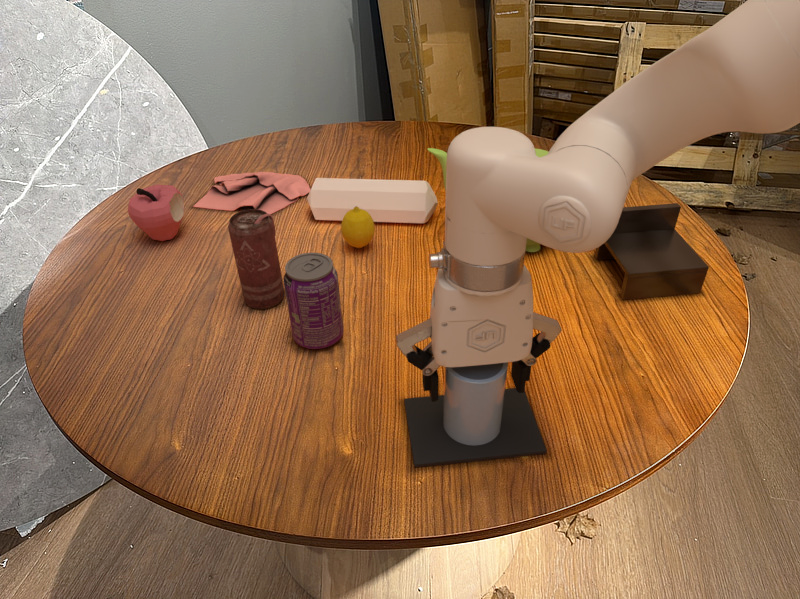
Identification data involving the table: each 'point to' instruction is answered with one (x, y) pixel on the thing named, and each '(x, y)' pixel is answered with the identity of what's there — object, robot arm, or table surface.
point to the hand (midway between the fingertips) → (475, 388)
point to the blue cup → (474, 402)
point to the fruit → (357, 227)
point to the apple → (157, 211)
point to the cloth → (254, 192)
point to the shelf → (653, 254)
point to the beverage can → (313, 300)
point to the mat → (441, 449)
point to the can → (256, 258)
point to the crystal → (373, 199)
